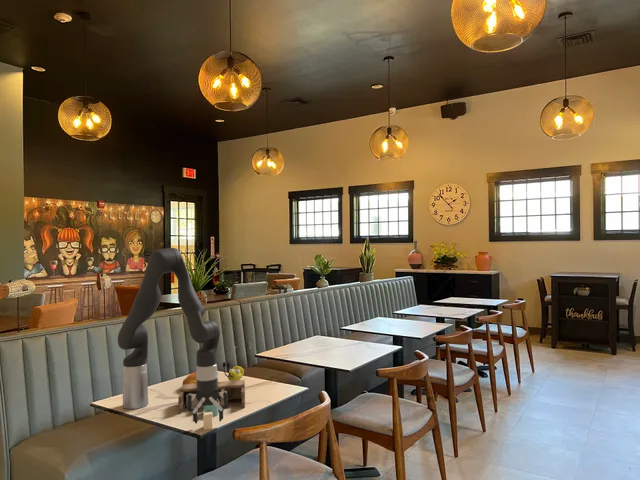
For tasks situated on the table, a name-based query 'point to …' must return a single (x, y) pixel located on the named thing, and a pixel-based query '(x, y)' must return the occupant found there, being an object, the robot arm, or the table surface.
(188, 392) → the plain block
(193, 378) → the croissant
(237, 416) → the table surface
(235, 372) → the toy
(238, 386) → the lane shelf
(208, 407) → the block
